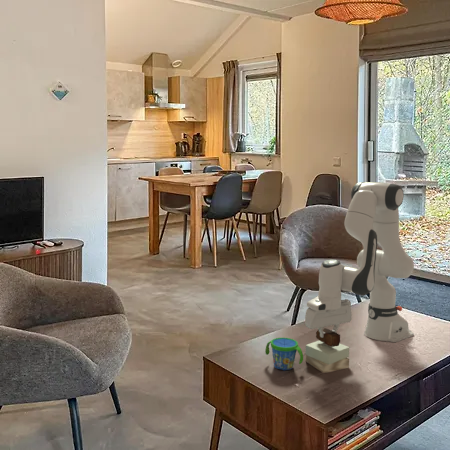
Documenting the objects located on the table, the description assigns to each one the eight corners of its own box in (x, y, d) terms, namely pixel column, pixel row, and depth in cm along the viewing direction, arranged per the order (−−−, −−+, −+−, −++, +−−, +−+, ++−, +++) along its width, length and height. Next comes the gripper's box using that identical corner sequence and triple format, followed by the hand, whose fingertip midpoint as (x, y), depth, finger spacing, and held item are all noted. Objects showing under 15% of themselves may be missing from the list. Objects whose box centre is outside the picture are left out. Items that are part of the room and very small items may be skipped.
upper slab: (325, 347, 225) (325, 338, 225) (348, 356, 216) (349, 347, 216) (305, 354, 218) (305, 344, 217) (328, 364, 209) (329, 354, 208)
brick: (340, 346, 212) (340, 334, 212) (331, 347, 211) (332, 335, 210) (323, 337, 222) (324, 326, 221) (315, 338, 220) (316, 327, 220)
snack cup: (308, 368, 214) (308, 343, 212) (292, 377, 206) (293, 351, 204) (275, 357, 224) (275, 333, 222) (259, 365, 216) (260, 341, 214)
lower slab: (330, 357, 225) (330, 348, 225) (348, 368, 215) (349, 359, 214) (305, 362, 220) (306, 353, 220) (323, 374, 210) (323, 364, 209)
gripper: (345, 296, 221) (344, 329, 223) (303, 303, 212) (302, 337, 214) (356, 300, 215) (354, 334, 218) (312, 307, 206) (311, 342, 209)
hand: (328, 335), depth 216 cm, fingers closed on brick, 4 cm apart
